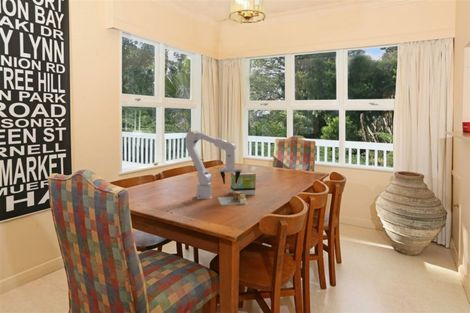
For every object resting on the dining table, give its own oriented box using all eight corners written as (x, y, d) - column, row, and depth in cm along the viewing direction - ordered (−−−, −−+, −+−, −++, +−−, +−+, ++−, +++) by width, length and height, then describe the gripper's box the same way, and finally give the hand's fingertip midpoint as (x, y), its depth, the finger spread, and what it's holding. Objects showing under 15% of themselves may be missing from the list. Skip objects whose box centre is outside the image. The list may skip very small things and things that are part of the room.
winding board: (221, 205, 186) (221, 196, 185) (217, 198, 203) (217, 189, 203) (247, 204, 189) (247, 195, 188) (241, 197, 206) (241, 188, 205)
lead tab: (239, 201, 192) (239, 193, 192) (244, 201, 193) (244, 193, 192) (240, 203, 189) (240, 195, 189) (245, 203, 190) (245, 194, 189)
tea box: (234, 196, 208) (234, 174, 206) (230, 193, 218) (230, 172, 216) (255, 195, 212) (255, 173, 210) (250, 191, 222) (251, 171, 220)
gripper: (219, 163, 192) (219, 185, 194) (242, 162, 195) (242, 184, 196) (218, 161, 199) (218, 182, 201) (240, 161, 202) (240, 182, 203)
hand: (230, 183), depth 199 cm, fingers open, 7 cm apart
